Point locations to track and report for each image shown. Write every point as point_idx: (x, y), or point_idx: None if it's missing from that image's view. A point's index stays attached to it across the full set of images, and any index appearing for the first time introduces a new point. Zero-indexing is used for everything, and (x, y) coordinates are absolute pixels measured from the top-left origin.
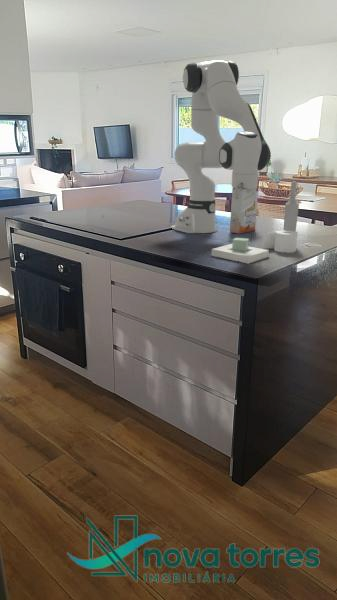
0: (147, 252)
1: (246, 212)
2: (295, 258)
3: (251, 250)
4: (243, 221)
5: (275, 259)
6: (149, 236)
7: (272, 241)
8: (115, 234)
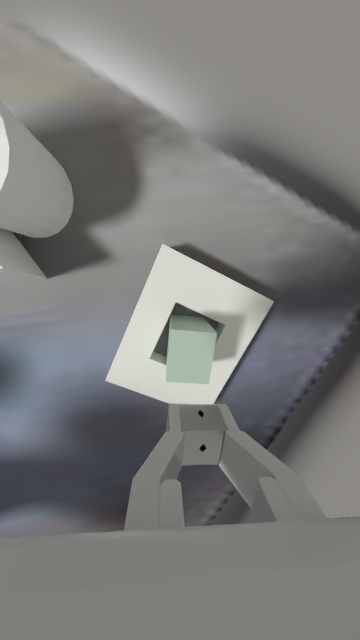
0: (212, 517)
1: (167, 464)
2: (151, 141)
3: (188, 305)
4: (227, 406)
5: (189, 220)
6: None
7: (2, 242)
8: None
